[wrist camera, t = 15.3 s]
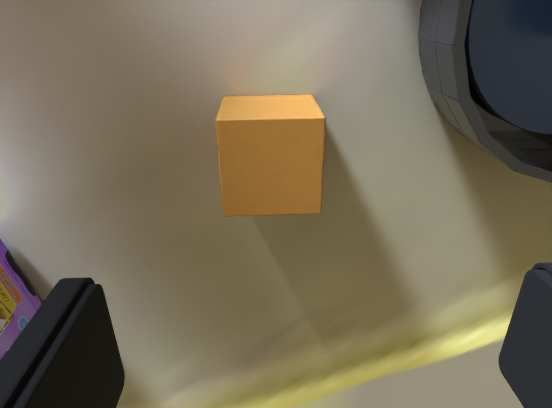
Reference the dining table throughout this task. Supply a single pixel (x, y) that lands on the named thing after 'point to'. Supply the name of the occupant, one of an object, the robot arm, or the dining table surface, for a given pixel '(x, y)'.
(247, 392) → the dining table surface
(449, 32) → the pan
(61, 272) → the dining table surface
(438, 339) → the dining table surface
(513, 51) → the lid
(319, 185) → the block
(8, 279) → the candy box
